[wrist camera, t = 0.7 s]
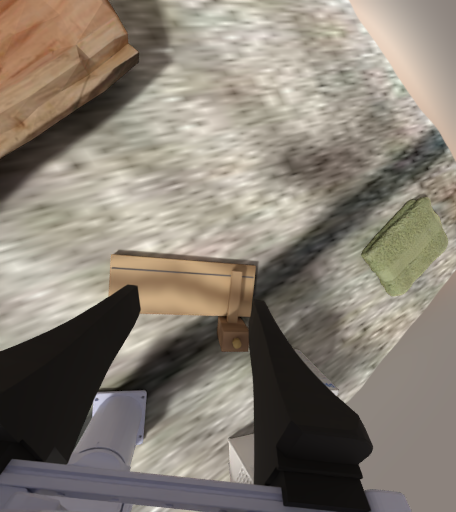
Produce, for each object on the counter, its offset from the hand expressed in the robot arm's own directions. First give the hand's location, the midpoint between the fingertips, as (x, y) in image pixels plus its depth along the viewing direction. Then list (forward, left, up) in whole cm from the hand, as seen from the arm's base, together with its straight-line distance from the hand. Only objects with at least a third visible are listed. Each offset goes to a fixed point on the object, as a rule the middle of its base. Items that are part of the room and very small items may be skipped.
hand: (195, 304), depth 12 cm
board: (-4, +1, -21) cm, 22 cm away
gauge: (-6, -7, -21) cm, 23 cm away
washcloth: (+7, -41, -22) cm, 47 cm away
